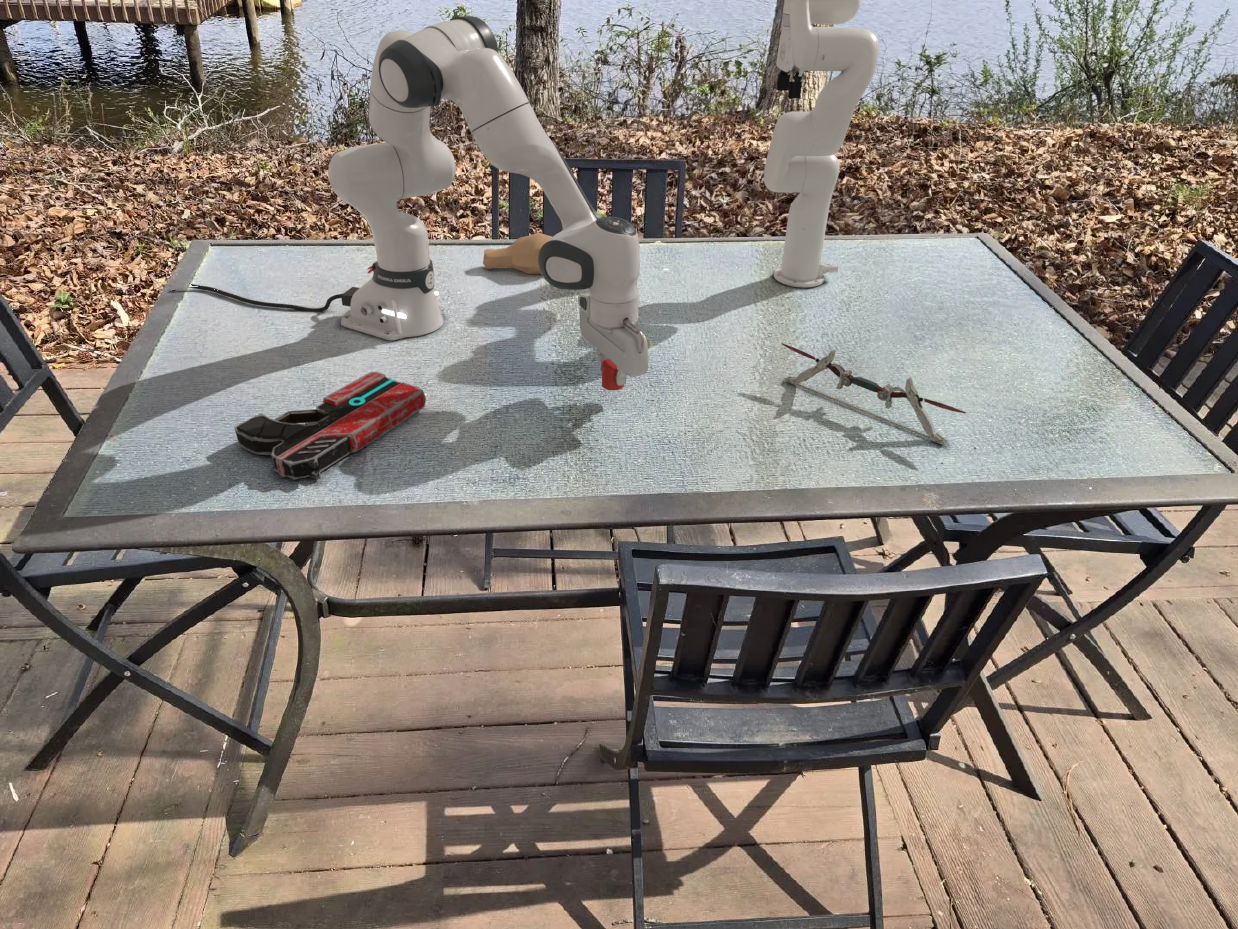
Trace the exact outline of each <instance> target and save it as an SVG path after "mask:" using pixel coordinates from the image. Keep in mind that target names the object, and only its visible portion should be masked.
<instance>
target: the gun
mask: <svg viewBox="0 0 1238 929" xmlns="http://www.w3.org/2000/svg"><path fill="white" fill-rule="evenodd" d="M426 400H427V397H426V395H425V392H424V390H423V389H422V388H420V387H419V386H418V385H413V384H411V383H410V384H409V383H407V382H404V381H403V382H401V381H398V380H395V379H393V378H390V377H387V376H386V374H385V373H382V372H379V371H370V372H367V373H366V374H364V375H363V376H360V377H358V378H357V379H355V380H353V381H352V382H349V383H348V384H345V385H344V386H342V387H340V388H339V389H336V390H335V391H333V392H332V393H329V394H328V395H326V396H324V397H323V399H322V402H321V403H320V404H318V405H316V406H315V409H299V410H298V409H297V410H288V411H286V412H284V413H283V414H280V415H278V416H277V417H275V418H271V417H268V416H267V415H265V414H264V413H258V414H256V415H255V416H253V417H250V418H249V419H247V420H245V421H243V422H241V423H240V424H237V425H234V432H235V435H236V439H237V443H238V444H239V446H240V447H241V448H243V449H244V450H246V451H247V452H250V453H252V454H254V455H262V456H263V455H264V456H271V459H272V463H273V467H274V472H276V473H278V474H279V476H280V477H282V478H286V477H287V478H289V479H291V480H293V481H295V480H299V479H305V478H308V477H309V478H311V479H313V480H315V481H319V479H321V473H322V472H323V471H325V470H326V469H328V468H329V467H332V466H333V465H334V464H336V463H337V462H339V461H340V460H342V459H343V458H346V456H348V455H350V454H351V453H353V454H354V453H357V452H359V451H360V450H361V449H363V448H365V447H366V446H368V445H370V444H371V443H373V442H375V441H376V440H378V439H380V438H381V437H383V436H384V435H386V434H387V433H388V432H390V431H391V430H393V429H394V428H396V427H398V426H399V425H401V424H402V423H403V422H404V421H406V420H408V419H409V418H411V417H412V416H414V415H415V414H416V413H418V412H419V411H421V410H423V409H424V408H425V407H426Z"/></svg>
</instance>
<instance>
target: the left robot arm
mask: <svg viewBox="0 0 1238 929" xmlns="http://www.w3.org/2000/svg"><path fill="white" fill-rule="evenodd" d="M441 100H448V101H452V102H453V103H454V104H456V106H457V107H458V108H459V110H460V112H461V114H462V116H463V118H464V120H465V123H466V124H467V127H468V129H469V132H471V135H472V137H473V139H474V141H475V143H476V145H477V147H478V149H479V151H480V152H481V154H482V155H483V156H484V157H485V159H486V160H487V162H489V163H490V165H491V166H493V167H494V168H496V169H498V170H500V171H503V172H506V173H510V174H518V175H522V176H525V177H527V178H529V179H531V180H532V181H534V182H535V183H536V184H537V185H538V186H539V187H540V188H541V190H542V191H543V193H544V195H545V196H546V198H547V199H548V201H549V203H550V205H551V206H552V208H553V210H554V211H555V214H556V215H557V217H558V218H559V220H560V222H561V227H562V229H561V231H560V232H558V233H556V234H554V235H553V236H552V238H551V239H549V240H548V241H547V242H546V243H545V244H544V245H543V246H542V247H541V249H540V251H539V254H538V265H539V269H540V272H541V274H540V275H541V276H542V277H543V279H544V281H546V282H547V283H548V285H550V286H552V287H554V288H555V289H558V290H565V291H567V290H568V291H582V290H588V291H589V292H585V293H581V294H578V296H577V304H578V306H579V330H580V334H581V336H582V339H584V340H585V341H587V343H589V344H590V345H591V346H592V347H594V348H595V349H596V355H597V358H598V361H599V370H600V371H601V372H602V362H603V361H604V360H606V359H609V360H611V361H612V362H613V363H614V364H615V365H616V366H617V370H618V373H617V374H615V375H614V382H615V383H616V384H617V385H619V386H621V385H624V386H625V385H626V384H627V376H628V377H629V378H636V377H640V376H644V375H646V374H647V373H648V370H649V348H648V346H649V344H648V340H647V337H646V336H645V335H646V334H644V333H643V332H642V329H641V327H639V326H638V324H637V325H636V323H637V322H638V321H639V309H640V308H639V305H640V304H639V303H640V291H639V287H638V281H639V280H638V279H639V276H640V274H641V248H640V247H641V246H640V238H639V233H638V230H637V229H636V227H635V226H634V225H633V224H632V223H631V222H630V221H628V220H626V219H624V218H621V217H617V216H601V214H600V213H598V212H597V211H596V209H595V208H594V207H593V205H592V204H591V202H590V200H589V199H588V198H587V196H586V194H585V192H584V190H583V188H582V187H581V185H580V183H579V181H578V180H577V178H576V176H575V174H574V173H573V171H572V169H571V168H570V166H569V164H568V162H567V161H566V159H565V157H564V156H563V154H562V153H561V151H560V150H559V148H558V147H557V146H556V143H554V142H553V141H552V139H551V138H550V137H549V135H548V134H547V132H546V131H545V129H544V128H543V126H542V124H541V123H540V121H539V118H538V117H537V115H536V113H535V111H534V108H533V107H532V105H531V103H530V101H529V99H528V97H527V94H526V92H525V91H524V89H523V87H522V84H520V82H519V80H518V79H517V77H516V75H515V74H514V72H513V70H512V69H511V67H510V66H509V64H508V63H507V62H506V60H505V59H504V58H503V56H502V55H501V54H500V53H499V47H498V42H497V39H496V37H495V35H494V33H493V31H492V29H491V28H490V26H489V25H488V24H487V23H486V22H485V21H484V20H483V19H481V18H480V17H477V16H473V15H464V16H463V15H461V16H457V17H454V18H452V19H451V20H446V21H442V22H437V23H435V24H431V25H428V26H426V27H424V28H423V29H421V30H418V31H416V32H412V31H409V30H404V29H400V30H399V29H398V30H393V31H390V32H388V33H386V34H385V35H384V36H383V37H382V38H381V39H380V41H379V43H378V46H377V49H376V53H375V56H374V58H373V64H372V68H371V75H370V86H369V103H368V122H369V125H370V127H371V130H372V131H373V132H374V133H375V134H376V136H377V137H379V138H380V139H381V140H382V141H383V142H379V143H371V144H363V145H355V146H353V147H349V148H346V149H343V150H341V151H338V152H336V153H334V154H333V155H332V157H331V159H330V161H329V164H328V168H327V175H328V176H327V177H328V181H329V184H330V188H331V189H332V191H333V192H334V194H335V195H336V196H337V197H338V198H339V199H340V200H341V201H342V202H344V203H346V204H348V205H349V206H351V207H353V208H354V209H355V210H356V211H358V212H359V213H360V214H361V215H362V217H363V218H364V220H365V221H366V222H367V224H368V226H369V228H370V231H371V235H372V240H373V243H374V248H375V253H376V254H375V255H376V261H374V262H373V263H372V265H371V266H369V267H368V268H367V274H370V273H372V277H371V278H370V279H369V280H367V282H365V283H364V284H363V285H362V286H360V287H357V286H352V287H350V288H348V290H345V291H344V292H343V293H338V294H334V295H332V296H329V298H327V300H326V302H325V304H324V305H323V306H322V307H317V308H312V307H305V306H301V305H297V304H289V303H288V304H287V303H279V302H277V303H276V302H267V301H260V300H254V299H250V298H246V297H243V296H240V295H237V294H234V293H231V292H228V291H224V290H221V289H219V288H215V287H212V286H207V285H201V286H200V284H195V283H190V284H191V285H192V286H198V287H189V289H196V290H201V291H208V292H212V293H215V294H218V295H220V296H221V295H222V296H225V297H226V298H227V297H228V298H231V299H233V300H237V301H239V302H243V303H247V304H250V305H254V306H255V305H256V306H261V307H269V308H280V309H290V310H297V311H301V312H310V313H311V312H313V313H323V312H325V311H328V310H329V308H330V306H331V304H332V302H334V301H335V300H339V299H341V305H342V306H343V307H349V310H347V311H346V313H344V314H343V316H342V317H341V320H340V324H341V326H342V327H344V328H347V329H350V330H354V331H357V332H360V333H364V334H367V335H370V336H373V337H377V338H380V339H383V340H387V341H396V340H397V341H398V340H401V339H404V338H412V337H420V336H423V335H427V334H430V333H431V334H432V333H434V332H436V331H437V330H439V329H441V327H442V326H443V325H444V323H445V320H444V317H443V314H442V312H441V310H440V307H439V303H438V300H437V296H439V291H435V271H434V264H433V260H432V259H431V253H430V243H429V232H428V229H427V226H426V225H425V223H424V222H423V221H422V220H421V219H420V218H419V217H417V216H415V215H414V214H413V215H412V214H410V213H407V212H404V211H400V210H399V208H398V201H399V200H404V199H411V198H416V197H417V198H418V197H422V196H423V197H424V196H430V195H433V194H435V193H438V192H441V191H444V190H446V189H448V188H450V187H451V186H452V184H453V182H454V180H455V177H456V172H457V164H456V160H455V156H454V154H453V152H452V150H451V149H450V147H448V145H447V144H446V143H444V142H443V141H442V140H440V139H438V138H437V137H436V136H434V135H433V133H432V131H431V128H430V122H431V107H439V106H440V104H441ZM214 289H215V290H214ZM218 289H219V290H218ZM217 290H218V291H217Z"/></svg>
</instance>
